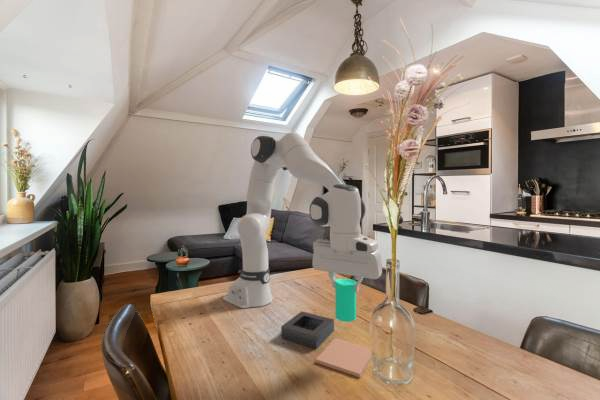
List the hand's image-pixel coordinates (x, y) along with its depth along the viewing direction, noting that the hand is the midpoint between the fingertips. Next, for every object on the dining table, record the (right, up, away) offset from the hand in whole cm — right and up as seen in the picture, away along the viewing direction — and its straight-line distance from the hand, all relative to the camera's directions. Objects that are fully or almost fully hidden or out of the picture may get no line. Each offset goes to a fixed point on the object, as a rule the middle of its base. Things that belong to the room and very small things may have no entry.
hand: (345, 288), depth 83 cm
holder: (-10, -20, +14) cm, 26 cm away
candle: (0, -9, 0) cm, 8 cm away
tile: (0, -20, +1) cm, 20 cm away
